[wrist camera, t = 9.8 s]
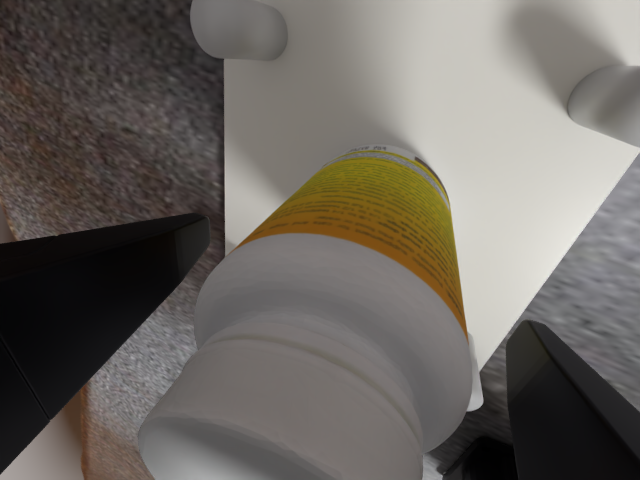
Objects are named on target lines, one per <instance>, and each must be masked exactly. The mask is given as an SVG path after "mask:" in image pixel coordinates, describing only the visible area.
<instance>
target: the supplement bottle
mask: <svg viewBox="0 0 640 480" xmlns="http://www.w3.org/2000/svg"><path fill="white" fill-rule="evenodd" d="M194 335H195V340H196V344H197V348H198V351H197V352H196V353H195V354H193V355H192V356H191V357H190V358H189V360H188V361H187V362H186V364H185V366H184V368H183V370H182V373H181V374H180V376H179V377H178V378H177V379H176V381H175V382H174V383H173V384H172V386H171V387H170V388H169V389H168V391H167V392H166V393H165V395H164V396H163V397H162V398H161V399H160V401H159V402H158V403H157V404H156V405H155V407H154V408H153V409H152V410H151V411H150V413H149V414H148V415H147V417H146V418H145V420H144V422H143V423H142V425H141V427H140V429H139V432H138V446H139V452H140V455H141V458H142V460H143V461H144V463H145V465H146V467H147V469H148V470H149V472H150V473H151V474H152V476H153V477H154V478H155V480H422V476H423V457H422V455H423V454H425V453H427V452H429V451H431V450H433V449H435V448H436V447H438V446H439V445H440V444H442V443H443V442H444V441H445V440H446V439H448V438H449V437H450V436H451V435H452V434H453V433H454V432H455V430H456V429H457V428H458V426H459V425H460V423H461V422H462V420H463V418H464V416H465V414H466V411H467V409H468V406H469V403H470V399H471V394H472V383H473V378H472V363H471V356H470V349H469V342H468V334H467V326H466V320H465V313H464V305H463V298H462V290H461V283H460V275H459V268H458V260H457V252H456V245H455V238H454V230H453V223H452V215H451V208H450V202H449V198H448V195H447V192H446V189H445V187H444V185H443V183H442V181H441V179H440V178H439V176H438V175H437V174H436V172H435V171H434V170H433V169H432V168H431V167H430V166H429V165H428V164H427V163H426V162H425V161H424V160H422V159H421V158H420V157H418V156H416V155H415V154H413V153H411V152H409V151H406V150H404V149H401V148H398V147H394V146H390V145H378V144H373V145H364V146H359V147H355V148H352V149H349V150H347V151H345V152H343V153H341V154H339V155H337V156H336V157H334V158H333V159H331V160H330V161H329V162H327V163H326V164H325V165H324V166H323V167H322V168H321V169H320V170H319V171H318V172H317V173H316V174H315V175H313V176H312V177H311V178H310V179H309V180H308V181H307V182H306V183H305V184H304V185H303V186H302V187H301V188H299V189H298V190H297V191H296V192H295V193H294V194H293V195H292V196H291V197H290V198H289V199H287V200H286V201H285V202H284V203H283V204H282V205H281V206H280V207H279V208H278V209H276V210H275V211H274V212H273V213H272V214H271V215H270V216H269V217H268V218H267V219H266V220H265V221H264V222H263V223H261V224H260V225H259V226H258V227H257V228H256V229H255V230H254V231H253V232H252V233H251V234H250V235H249V236H248V237H246V238H245V239H244V240H243V241H242V242H241V243H240V244H239V245H238V246H237V247H236V248H235V249H233V250H232V251H231V252H230V253H229V254H228V255H227V256H226V257H225V258H224V259H223V260H222V261H221V262H220V263H219V264H218V265H217V266H216V267H215V268H214V270H213V271H212V272H211V273H210V274H209V276H208V277H207V279H206V281H205V282H204V284H203V286H202V288H201V290H200V292H199V294H198V298H197V301H196V305H195V311H194Z"/></svg>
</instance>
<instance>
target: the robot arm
mask: <svg viewBox="0 0 640 480" xmlns="http://www.w3.org/2000/svg"><path fill="white" fill-rule="evenodd" d="M209 244H210V220H209V218H208V217H207V216H205V215H202V214H199V213H189V214H183V215H177V216H171V217H165V218H159V219H153V220H146V221H140V222H134V223H128V224H122V225H116V226H110V227H103V228H97V229H91V230H85V231H79V232H73V233H67V234H61V235H58V236H48V237H42V238H36V239H29V240H22V241H16V242H9V243H2V244H0V474H1V473H2V472H3V471H4V470H5V469H6V468H7V467H8V466H9V465H10V464H11V463H12V461H13V460H14V459H15V458H16V457H17V456H18V455H19V454H20V453H21V452H22V451H23V450H24V449H25V448H26V447H27V445H29V444H30V442H31V441H32V440H33V439H34V438H35V437H36V436H37V435H38V434H39V433H40V432H41V431H42V430H43V429H44V428H45V426H46V425H47V424H48V423H49V422H50V420H51V419H53V418H54V417H55V416H56V415H57V414H58V412H59V411H60V410H61V409H62V408H63V407H64V406H65V405H66V404H67V403H68V402H69V401H70V400H71V399H72V398H73V397H74V396H75V394H76V393H77V392H78V391H79V390H80V389H81V388H82V387H83V386H84V385H85V384H86V383H87V382H88V381H89V380H90V379H91V377H92V376H93V375H94V374H95V373H96V372H97V371H98V370H99V369H100V368H101V367H102V366H103V365H104V364H105V363H106V362H107V361H108V359H109V358H110V357H111V356H112V355H113V354H114V353H115V352H116V351H117V350H118V349H119V348H120V347H121V346H122V345H123V344H124V342H125V341H126V340H127V339H128V338H129V337H130V336H131V335H132V334H133V333H134V332H135V331H136V330H137V329H138V328H139V327H140V326H141V324H142V323H143V322H144V321H145V320H146V319H147V318H148V317H149V316H150V315H151V314H152V313H153V312H154V311H155V310H156V309H157V308H158V306H159V305H160V304H161V303H162V302H163V301H164V300H165V299H166V298H167V297H168V296H169V295H170V294H171V293H172V292H173V291H174V289H175V288H176V287H177V286H178V285H179V284H180V283H181V281H182V280H183V279H184V278H185V277H186V275H187V274H188V273H189V271H190V270H191V269H192V267H193V266H194V265H195V263H196V262H197V261H198V259H199V258H200V257H201V255H202V254H203V253H204V252H205V250H206V249H207V248H208V246H209ZM506 377H507V403H508V412H509V419H510V426H511V432H512V439H513V446H514V448H511V447H509V446H506V445H504V444H501V443H499V442H496V441H493V440H491V439H488V438H483V437H481V438H478V439H476V440H475V442H474V443H473V444H472V445H471V446H470V447H469V448H468V449H467V450H466V452H465V453H464V454H463V455H462V456H461V457H460V458H459V459H458V460H457V462H456V463H455V464H454V465H453V466H452V467H451V468H450V469H449V470H448V472H447V473H446V474H445V475H444V476H443V478H442V480H640V412H639V411H638V410H637V409H636V408H635V407H634V406H633V405H632V404H630V403H629V402H628V401H627V400H626V399H625V398H624V397H623V396H622V395H621V394H620V393H619V392H617V391H616V390H615V389H614V388H613V387H612V386H611V385H610V384H609V383H608V382H607V381H606V380H604V379H603V378H602V377H601V376H600V375H599V374H598V373H597V372H596V371H595V370H594V369H593V368H591V367H590V366H589V365H588V364H587V363H586V362H585V361H584V360H583V359H582V358H581V357H580V356H578V355H577V354H576V353H575V352H574V351H573V350H572V349H571V348H570V347H569V346H568V345H567V344H565V343H564V342H563V341H562V340H561V339H560V338H559V337H558V336H557V335H556V334H555V333H554V332H552V331H551V330H550V329H549V328H548V327H547V326H546V325H544V324H542V323H539V322H536V321H533V320H530V319H525V320H523V321H522V322H521V323H520V324H519V326H518V327H517V328H516V330H515V331H514V332H513V334H512V335H511V336H510V338H509V339H508V341H507V344H506Z"/></svg>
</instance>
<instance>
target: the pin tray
mask: <svg viewBox="0 0 640 480" xmlns="http://www.w3.org/2000/svg"><path fill="white" fill-rule="evenodd" d="M190 21H191V27H192V31H193V34H194V37H195V39H196V41H197V42H198V44H199V45H200V47H201V48H202V49H203V50H204V51H205V52H206V53H207V54H209V55H210V56H213V57H215V58H224V147H225V257H226V256H227V255H228V254H229V253H230V252H231V251H232V250H233V249H235V248H236V247H237V246H238V245H239V244H240V243H241V242H242V241H243V240H244V239H245V238H246V237H248V236H249V235H250V234H251V233H252V232H253V231H254V230H255V229H256V228H257V227H258V226H259V225H260V224H261V223H263V222H264V221H265V220H266V219H267V218H268V217H269V216H270V215H271V214H272V213H273V212H274V211H275V210H276V209H278V208H279V207H280V206H281V205H282V204H283V203H284V202H285V201H286V200H287V199H289V198H290V197H291V196H292V195H293V194H294V193H295V192H296V191H297V190H298V189H299V188H301V187H302V186H303V185H304V184H305V183H306V182H307V181H308V180H309V179H310V178H311V177H312V176H313V175H315V174H316V173H317V172H318V171H319V170H320V169H321V168H322V167H323V166H324V165H325V164H326V163H327V162H329V161H330V160H331V159H333V158H334V157H336V156H337V155H339V154H341V153H343V152H345V151H347V150H349V149H352V148H355V147H359V146H364V145H373V144H378V145H390V146H394V147H398V148H401V149H404V150H406V151H409V152H411V153H413V154H415V155H416V156H418V157H420V158H421V159H422V160H424V161H425V162H426V163H427V164H428V165H429V166H430V167H431V168H432V169H433V170H434V171H435V172H436V174H437V175H438V176H439V178H440V179H441V181H442V183H443V185H444V187H445V189H446V192H447V195H448V198H449V202H450V208H451V215H452V223H453V230H454V238H455V245H456V252H457V260H458V268H459V275H460V283H461V290H462V298H463V305H464V313H465V320H466V326H467V334H468V342H469V349H470V356H471V363H472V378H473V383H472V394H471V399H470V403H469V406H468V409H467V411H473V410H476V409H478V408H480V407H481V406H482V404H483V394H482V388H481V382H480V375H479V372H480V370H481V369H482V367H483V366H484V365H485V363H486V362H487V361H488V359H489V358H490V356H491V355H492V354H493V352H494V351H495V350H496V348H497V347H498V346H499V344H500V343H501V341H502V340H503V339H504V337H505V336H506V335H507V333H508V332H509V330H510V329H511V328H512V326H513V325H514V324H515V322H516V321H517V319H518V318H519V317H520V315H521V314H522V313H523V311H524V310H525V309H526V307H527V306H528V304H529V303H530V302H531V300H532V299H533V298H534V296H535V295H536V293H537V292H538V291H539V289H540V288H541V287H542V285H543V284H544V282H545V281H546V280H547V278H548V277H549V276H550V274H551V273H552V272H553V270H554V269H555V267H556V266H557V265H558V263H559V262H560V261H561V259H562V258H563V256H564V255H565V254H566V252H567V251H568V250H569V248H570V247H571V245H572V244H573V243H574V241H575V240H576V239H577V237H578V236H579V235H580V233H581V232H582V230H583V229H584V228H585V226H586V225H587V224H588V222H589V221H590V219H591V218H592V217H593V215H594V214H595V213H596V211H597V210H598V208H599V207H600V206H601V204H602V203H603V202H604V200H605V199H606V198H607V196H608V195H609V193H610V192H611V191H612V189H613V188H614V187H615V185H616V184H617V182H618V181H619V180H620V178H621V177H622V176H623V174H624V173H625V171H626V170H627V169H628V167H629V166H630V165H631V163H632V162H633V161H634V159H635V158H636V156H637V155H638V154H639V152H640V0H193V1H192V5H191V11H190Z"/></svg>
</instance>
